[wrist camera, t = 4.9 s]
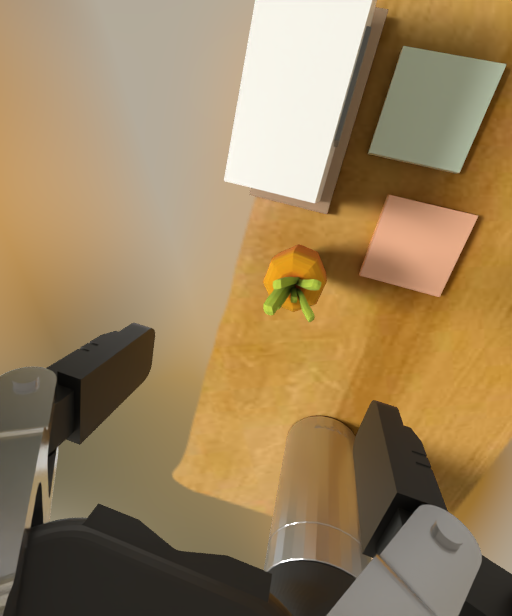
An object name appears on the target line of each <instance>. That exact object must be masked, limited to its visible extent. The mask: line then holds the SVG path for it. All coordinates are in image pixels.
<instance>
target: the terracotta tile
mask: <svg viewBox="0 0 512 616" xmlns="http://www.w3.org/2000/svg"><path fill="white" fill-rule="evenodd" d="M477 218H478V216H477V215H473V214H468V213H464V212H460V211H456V210H452V209H447V208H443V207H439V206H435V205H431V204H426V203H422V202H418V201H414V200H410V199H405V198H401V197H397V196H393V195H387V197H386V200H385V203H384V206H383V208H382V211H381V214H380V217H379V219H378V222H377V225H376V228H375V230H374V233H373V236H372V239H371V241H370V244H369V247H368V250H367V253H366V255H365V258H364V261H363V264H362V266H361V269H360V272H359V275H360V276H363V277H367V278H371V279H375V280H378V281H382V282H386V283H389V284H393V285H397V286H400V287H404V288H408V289H411V290H415V291H419V292H422V293H426V294H430V295H433V296H437V297H440V295H441V293H442V291H443V289H444V287H445V285H446V283H447V281H448V279H449V276H450V274H451V272H452V270H453V268H454V266H455V264H456V262H457V260H458V258H459V256H460V253H461V251H462V249H463V247H464V245H465V243H466V241H467V239H468V237H469V235H470V233H471V230H472V228H473V226H474V224H475V222H476V220H477Z"/></svg>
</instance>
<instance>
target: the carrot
mask: <svg viewBox="0 0 512 616" xmlns="http://www.w3.org/2000/svg"><path fill="white" fill-rule="evenodd" d="M326 282H327V278H326V272H325V269H324V266H323V264H322V261H321V259H320V256H319V254H318V252H317V251H314V250H312V249H309V248H307V247H304V246H302V245H296V246H294V247H292V248H289V249H287V250H285V251H282V252H280V253H278V254H277V255H276V256H274V257H273V258H272V260H271V262H270V265H269V268H268V270H267V273H266V275H265V278H264V281H263V283H264V285H265V287H266V289H267V292H268V294H269V297H268V298H267V300H266V301H265V303H264V311H265V313H266V314H268V315H274V313H275V312H276V310H277V309H280V307H283V308H285V309H288V310H290V311H292V312H295V311H298V310H300V309H302V311H303V313H304V315H305V317H306V319H307V320H308V322H311V321H313V320H314V318H315V317H314V313H313V311H312V310H311V308H310V306H312V305H315V304H316V303H317V301H318V299H319V297H320V295H321V293H322V290H323V288H324V286H325V284H326Z"/></svg>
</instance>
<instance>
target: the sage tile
mask: <svg viewBox="0 0 512 616" xmlns="http://www.w3.org/2000/svg"><path fill="white" fill-rule="evenodd" d="M505 67H506V64H503V63H497V62H492V61H486V60H480V59H475V58H469V57H464V56H458V55H452V54H447V53H441V52H436V51H430V50H424V49H419V48H413V47H408V46H403V48H402V50H401V52H400V55H399V58H398V61H397V64H396V67H395V70H394V74H393V77H392V80H391V83H390V86H389V89H388V92H387V95H386V98H385V101H384V104H383V107H382V111H381V114H380V117H379V120H378V123H377V126H376V129H375V132H374V135H373V138H372V141H371V144H370V147H369V151H368V154H370V155H374V156H379V157H383V158H388V159H392V160H397V161H401V162H405V163H410V164H414V165H419V166H423V167H428V168H432V169H437V170H441V171H446V172H450V173H455V174H456V173H460V170H461V168H462V166H463V164H464V161H465V159H466V157H467V154H468V152H469V150H470V147H471V145H472V143H473V140H474V138H475V136H476V134H477V131H478V129H479V127H480V124H481V122H482V120H483V117H484V115H485V113H486V111H487V108H488V106H489V104H490V101H491V99H492V97H493V94H494V92H495V90H496V87H497V85H498V83H499V81H500V78H501V76H502V74H503V71H504V69H505Z"/></svg>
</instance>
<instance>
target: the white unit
mask: <svg viewBox="0 0 512 616" xmlns="http://www.w3.org/2000/svg"><path fill="white" fill-rule="evenodd" d="M376 2H377V0H255V5H254V11H253V16H252V22H251V28H250V34H249V39H248V45H247V51H246V57H245V62H244V68H243V74H242V80H241V85H240V91H239V97H238V103H237V108H236V114H235V120H234V126H233V131H232V138H231V143H230V149H229V155H228V161H227V166H226V172H225V178H224V181H227V182H231V183H235V184H239V185H243V186H247V187H251V190H250V195H252V196H256V197H260V198H264V199H268V200H272V201H276V202H280V203H284V204H288V205H292V206H296V207H300V208H304V209H308V210H312V211H316V212H320V213H324V214H327V212H328V209H329V206H330V202H331V199H332V196H333V192H334V189H335V186H336V182H337V179H338V176H339V172H340V169H341V166H342V162H343V159H344V156H345V152H346V149H347V146H348V142H349V139H350V136H351V132H352V129H353V126H354V122H355V119H356V116H357V112H358V109H359V106H360V102H361V99H362V96H363V92H364V89H365V86H366V82H367V79H368V76H369V72H370V69H371V66H372V62H373V59H374V56H375V53H376V49H377V46H378V43H379V39H380V36H381V33H382V29H383V26H384V23H385V19H386V16H387V13H388V9H383V8H377V7H375V6H376Z"/></svg>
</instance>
